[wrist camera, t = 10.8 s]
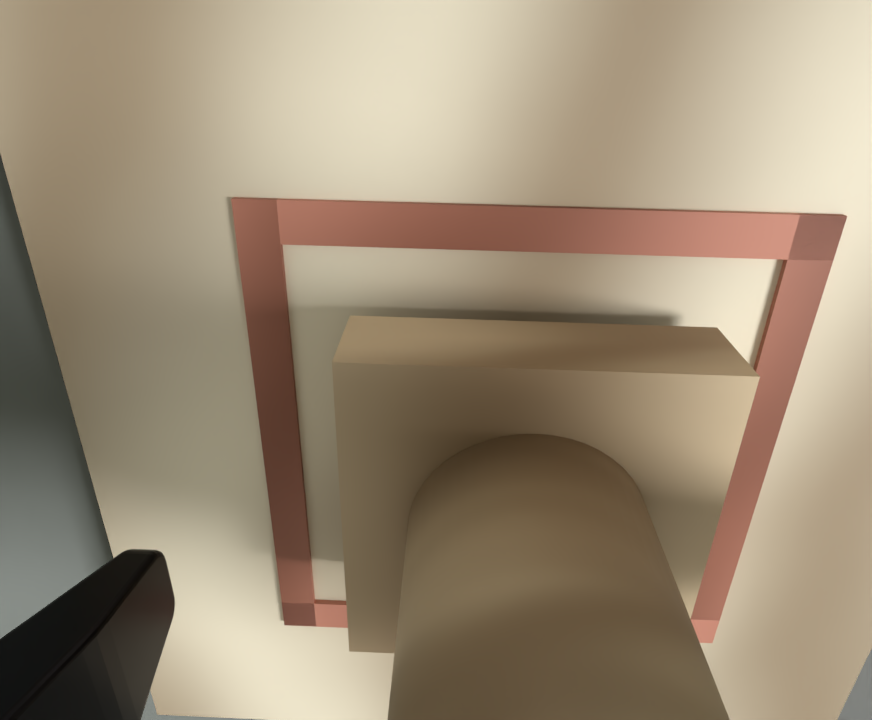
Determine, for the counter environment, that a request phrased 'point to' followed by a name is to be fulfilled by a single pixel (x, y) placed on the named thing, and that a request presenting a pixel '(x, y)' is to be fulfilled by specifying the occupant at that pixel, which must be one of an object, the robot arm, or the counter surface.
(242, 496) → the board
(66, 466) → the counter surface
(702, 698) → the stamp
